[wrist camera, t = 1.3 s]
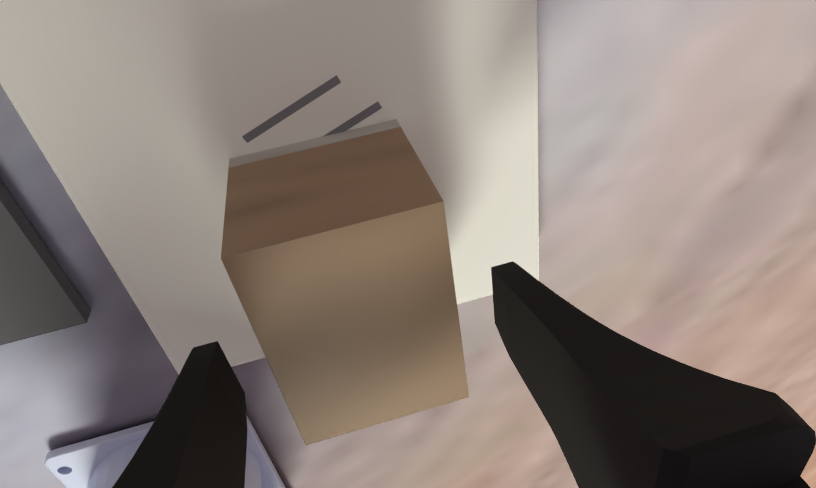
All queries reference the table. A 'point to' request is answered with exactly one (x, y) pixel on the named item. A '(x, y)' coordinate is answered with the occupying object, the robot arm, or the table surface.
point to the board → (270, 126)
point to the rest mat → (31, 281)
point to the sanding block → (346, 278)
